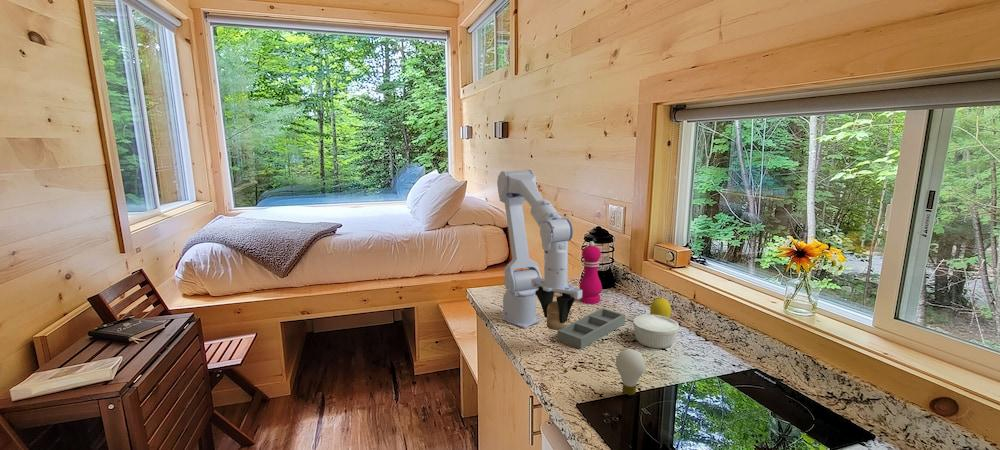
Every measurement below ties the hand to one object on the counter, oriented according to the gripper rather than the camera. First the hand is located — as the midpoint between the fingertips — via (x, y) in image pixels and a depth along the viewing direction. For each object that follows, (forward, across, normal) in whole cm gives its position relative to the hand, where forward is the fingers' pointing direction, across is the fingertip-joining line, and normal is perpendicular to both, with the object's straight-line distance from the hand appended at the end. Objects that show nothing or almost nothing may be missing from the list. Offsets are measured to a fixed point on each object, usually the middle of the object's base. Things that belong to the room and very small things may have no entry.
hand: (555, 319), depth 114 cm
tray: (+8, +1, +15) cm, 17 cm away
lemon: (+8, +12, +32) cm, 36 cm away
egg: (+2, 0, 0) cm, 2 cm away
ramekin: (+8, +16, +22) cm, 28 cm away
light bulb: (+8, +24, -6) cm, 26 cm away
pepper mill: (+8, -13, +34) cm, 38 cm away
